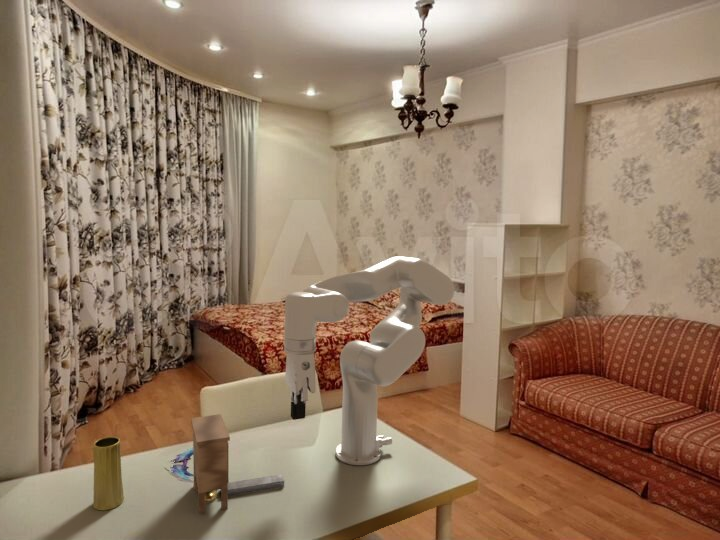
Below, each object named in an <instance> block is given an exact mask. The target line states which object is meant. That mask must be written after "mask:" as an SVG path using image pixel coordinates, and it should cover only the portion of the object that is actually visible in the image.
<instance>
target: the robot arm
mask: <svg viewBox="0 0 720 540" xmlns="http://www.w3.org/2000/svg"><path fill="white" fill-rule="evenodd" d="M399 288H400V294H399V296H400V297H399V301H398V305H397V306H396V307H395V308H394V309H393V310H392V311H391V312H389V314H388V315H387V316H385V317H384V318H383V319H382V320H381V321H379V322H378V323H377V324H376V325H375V326H374V327H373V329H372V330H371V331H370V334H369V341H370V342H367V341H364V340H357V339H356V340H351V341H349V342H348V343H346V344H345V345H344V346H343V348H342V350H341V353H340V356H339V366H340V373H341V379H342V405H341V406H342V407H341V409H342V410H341V412H342V413H341V442H340V443H339V444H338V445H337V446H336V448H335V456H336V458H337V459H338V460H339V461H340V462H342V463H345V464H348V465H352V466H368V465H371V464H374V463H376V462H377V461H379V460H380V459H381V457H382V449H381V448H383V446H389V445H392V444H393V439H392V437H384V435H383V434H382V435H377V432H378V431H377V429H378V428H377V427H378V425H377V424H378V401H379V397H378V396H379V394H378V393H379V392H378V386H379V387H387V386H390V385H392V384H393V383H395V382H396V381H397V380H398V379H400V377H402V376H403V374H404V373H406V372H407V371H408V370H409V369H410V367H412V365H414V364H415V363H416V362H417V361H418V360H419V359H420V357H421V356H422V354H423V352H424V350H425V346H426V336H425V333H424V332H423V329H421V328H420V325H421V324H422V321H423V314H422V313H423V312H422V303H426V304H431V305H436V306H444V305H447V304H449V303H450V302H451V301H452V300H453V298H454V294H455V286H454V282H453V281H452V279H451V277H449V276H448V275H447V274H445V273H444V272H443V271H442V270H440V269H438V268H436V266H433V264H431V263H429V262H428V261H427V260H424V259H422V258H417V257H410V256H409V257H408V256H400V255H399V256H393V257H392V256H391V257H390V258H387V259H384V260H383V261H381V262H378V263H376V264H373V265H372V266H369V267H367V268H364V269H362V270H359V271H353V272H349V273H345V274H341V275H336V276H332V277H328V278H326V279H322V280H320V281H317V282H316V283H313V284H311V285H309V286H307V287H305V288H304V290H303V291H295V292H290V293H288V294H287V295H286V297H285V301H284V336H283V337H284V338H283V351H284V352H285V353H286V356H285V357H286V359H285V383H286V385H287V387H289V389H290V401H291V402H290V417H291V419H292V420H293V421H294V420H295V421H296V420H303V419H305V418H306V407H307V406H306V405H307V404H306V403H307V402H308V400H309V394H308V391H309V393H311V394H315V393H316V385H317V384H316V358H315V352H316V348H317V345H316V343H317V323H336V322H340V321H342V320H343V319H344V318H346V317H347V316H348V314H349V311H350V302H370V301H375V300H377V299H379V298H381V297H382V296H385V295H386V294H387V295H388V294H389V293H391V292H393V291H395V290H397V289H399Z"/></svg>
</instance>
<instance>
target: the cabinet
mask: <svg viewBox="0 0 720 540" xmlns="http://www.w3.org/2000/svg"><path fill="white" fill-rule="evenodd" d="M190 423H191V426H192V441H193V442H192V443H193V444H192V446H193V447H192V448H193V455H192V457H193V458H192V460H193V461H192V462H193V474H194V477H193V481H194V483H193V490H194V491H198V492H197V493H198V497H197V498H198V515H199V516H201V515H205V514H206V503H205V492H209V491H214V490H216V491H218V490H219V491H220V498H221V499H220V500H221V501H220V503H221V505H220V506H221V507H220V508H221V511H226V510H228V508H229V507H228V506H229V502H228V501H229V500H228V497H229V496H228V483H230V482H229V480H230V479H229V442H230V441H231V439H230V438H231V437H230V434H229V432H228V429H227V426H226V423H225V421H224V418H223V416H222V414H221V413H220V414H212V415H206V416H199V417H191V418H190Z"/></svg>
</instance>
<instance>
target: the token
mask: <svg viewBox="0 0 720 540" xmlns="http://www.w3.org/2000/svg"><path fill="white" fill-rule="evenodd" d="M217 498H218V493H217V490H214V491H209V492H205V504H209V503H212V502H214V501H216V500H217Z"/></svg>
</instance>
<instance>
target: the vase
mask: <svg viewBox="0 0 720 540" xmlns="http://www.w3.org/2000/svg"><path fill="white" fill-rule="evenodd" d="M124 497H125V496H124V487H123V477H122V454H121V439H120V438H119V437H117V436H104V437H101V438H99V439H96V440H95V441H94V443H93V503H92V506H93V508H94V509H95V510H98V511H109V510H113V509H114V508H118V507H119V506H120V505H121V504H122V503H123V502H124V499H125V498H124Z"/></svg>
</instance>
